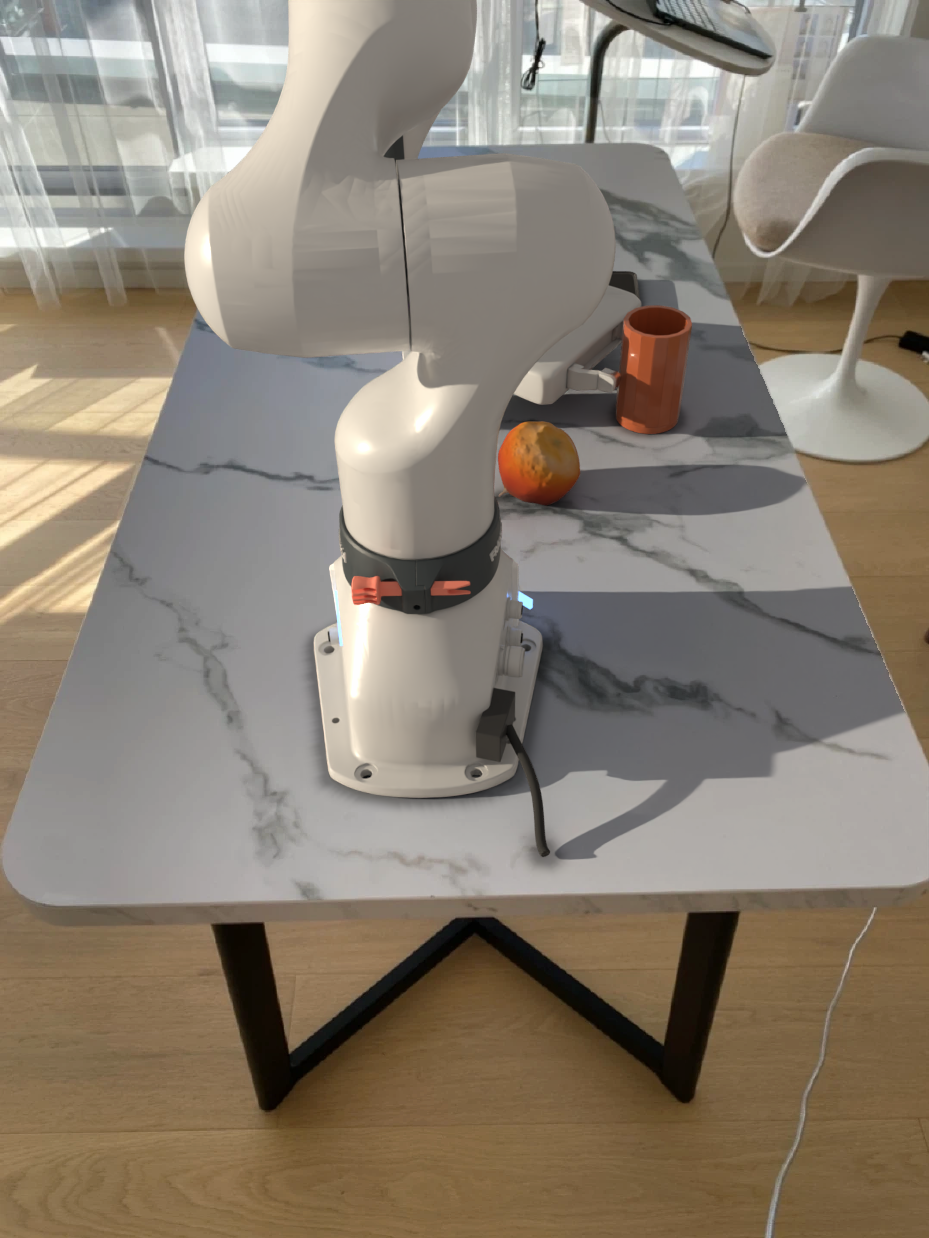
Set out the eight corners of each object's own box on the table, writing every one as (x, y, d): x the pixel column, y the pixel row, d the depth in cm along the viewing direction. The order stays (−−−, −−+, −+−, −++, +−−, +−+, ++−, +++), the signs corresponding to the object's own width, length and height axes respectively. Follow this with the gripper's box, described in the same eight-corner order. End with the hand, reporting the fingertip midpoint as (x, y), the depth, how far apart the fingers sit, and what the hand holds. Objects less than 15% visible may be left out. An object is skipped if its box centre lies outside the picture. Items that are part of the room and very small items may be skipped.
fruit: (493, 446, 105) (535, 393, 99) (557, 491, 106) (602, 442, 100) (467, 492, 99) (509, 439, 94) (534, 540, 100) (580, 490, 95)
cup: (682, 433, 108) (696, 337, 101) (618, 434, 108) (627, 338, 101) (673, 399, 113) (686, 304, 105) (612, 400, 113) (620, 305, 106)
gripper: (469, 342, 105) (590, 380, 99) (572, 264, 117) (686, 295, 111) (470, 397, 109) (586, 437, 103) (570, 316, 121) (678, 348, 115)
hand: (639, 363), depth 107 cm, fingers open, 8 cm apart
